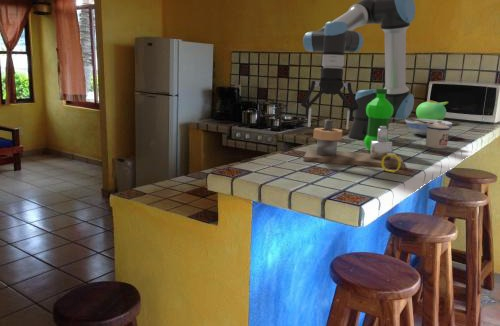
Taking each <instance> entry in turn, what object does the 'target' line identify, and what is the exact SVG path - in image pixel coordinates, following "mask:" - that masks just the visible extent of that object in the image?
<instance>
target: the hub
mask: <svg viewBox="0 0 500 326" xmlns="http://www.w3.org/2000/svg"><path fill="white" fill-rule="evenodd" d="M387 131H388V132H389V128H388V129H386V126H380V128H379V129H378V137H377V140H372V141H371V149H370V151H369V153H370V158H371V159H376V160H382V159H383V157H384V156H386V155H387V154H388V153H392V148H393V147H392V146H393V142H392V141H391V140H389V141H387ZM390 159H391V157H390V156H387V157H386V158H385V159H384V160H390Z"/></svg>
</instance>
